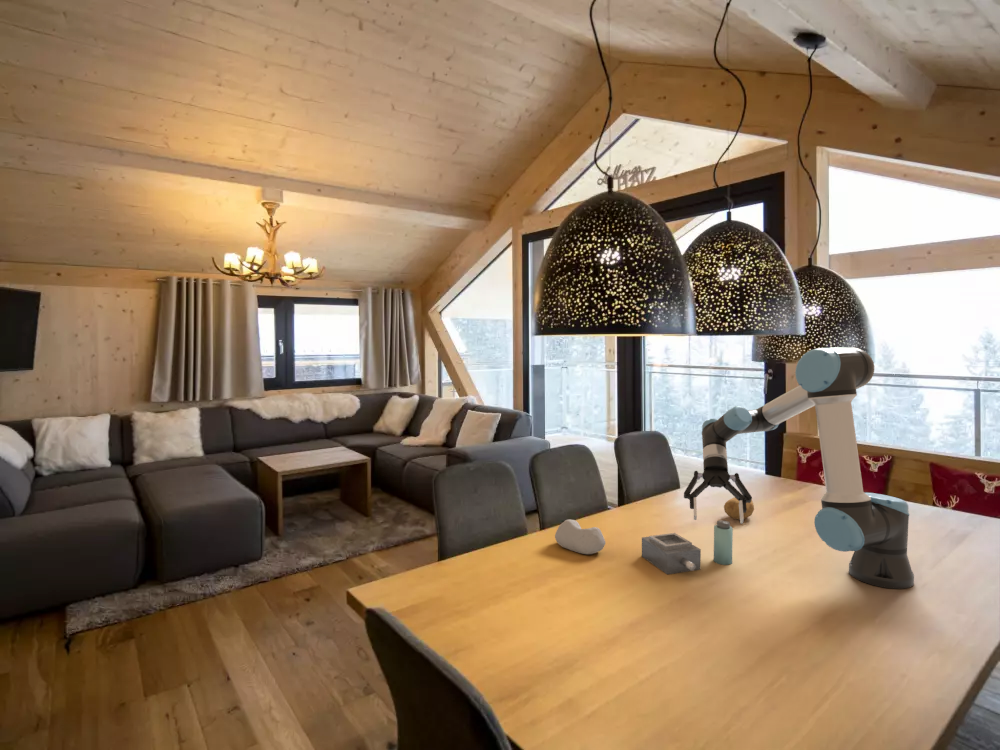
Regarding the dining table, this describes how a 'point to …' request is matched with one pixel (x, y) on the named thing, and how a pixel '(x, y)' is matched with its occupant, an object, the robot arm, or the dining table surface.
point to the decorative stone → (579, 537)
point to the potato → (737, 509)
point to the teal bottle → (723, 543)
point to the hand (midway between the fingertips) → (718, 519)
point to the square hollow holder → (671, 553)
